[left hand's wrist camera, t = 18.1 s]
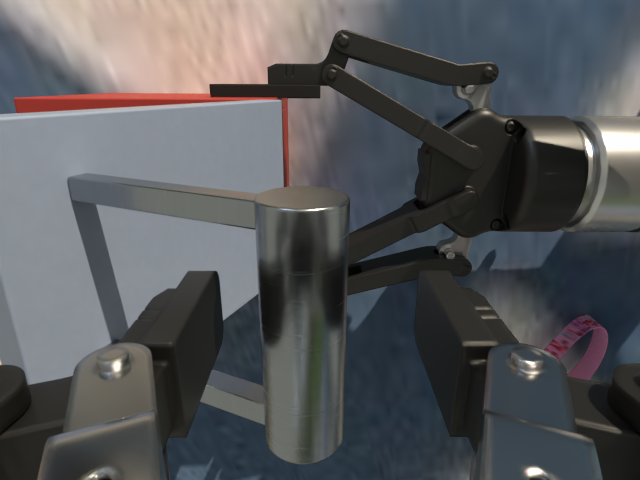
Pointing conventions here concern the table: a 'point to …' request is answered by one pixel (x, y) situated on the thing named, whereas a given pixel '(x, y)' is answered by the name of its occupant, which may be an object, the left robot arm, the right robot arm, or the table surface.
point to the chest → (141, 100)
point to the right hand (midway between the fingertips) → (221, 173)
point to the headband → (595, 347)
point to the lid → (176, 250)
